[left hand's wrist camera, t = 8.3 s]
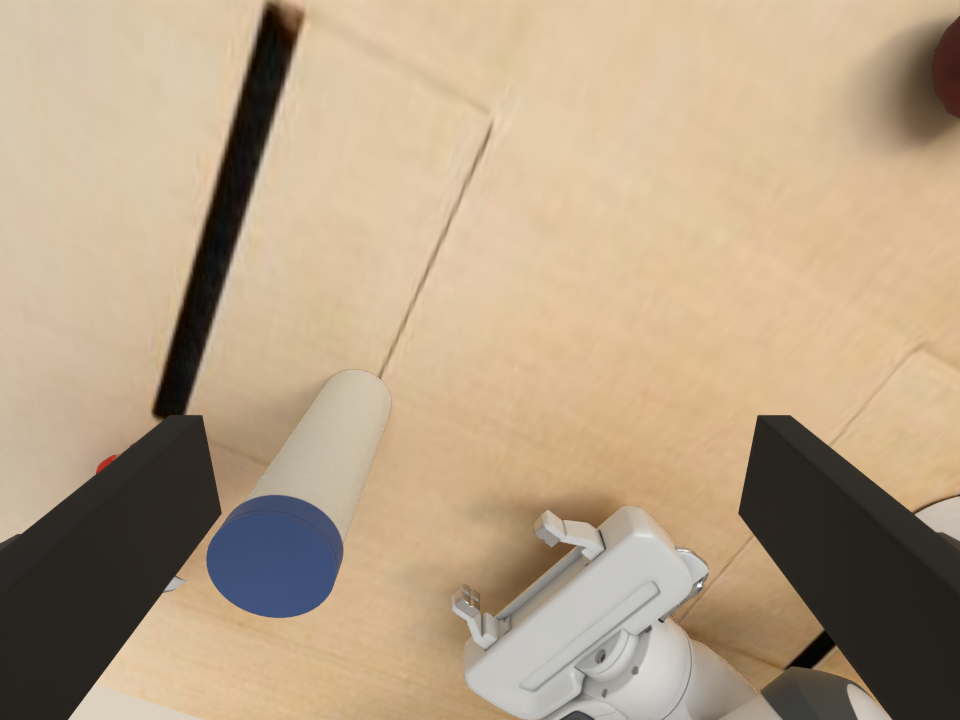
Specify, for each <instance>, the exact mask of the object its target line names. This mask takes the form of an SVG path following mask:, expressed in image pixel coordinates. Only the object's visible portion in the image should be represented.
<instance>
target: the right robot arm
mask: <svg viewBox="0 0 960 720" xmlns="http://www.w3.org/2000/svg"><path fill="white" fill-rule="evenodd" d="M915 516H917V517H918V518H919V519H920V520H922V521H923V522H924V523H925V524H927V525H928V526H929V527H930V528H932V529H933V530H934V531H935V532H943V533H945V534H947V535H949V536H951V537H953V538H955V539H957V540H959V541H960V496H958V497H954V498H950V499H947V500H944V501H941V502H938V503H936V504H934V505H931V506H929V507H927V508H925V509H923V510H921V511H920V512H918V513H916V514H915ZM533 526H534V533H535V534H536V536H537V537H538V538H539V539H541V540H545V543H546V544H547V545H549V546H550V547H551V548H552V547H553V546H555V545H556V544H557V543H558V542H559V541H560V542H563V543H568V544H573V545H577V546H575V547H574V548H573V549H572V550H571V551H570V552H568V553H567V554H566V555H565V556H564V557H563V558H562V559H560V560H559V561H558V562H557V563H556V564H555V565H553V566H552V567H551V568H550V569H549V570H548V571H546V572H545V573H544V574H543V575H542V576H541V577H540V578H538V579H537V580H536V581H535V582H534V583H533V584H531V585H530V586H529V587H528V588H527V589H526V590H525V591H523V592H522V593H521V594H520V595H519V596H518V597H516V598H515V599H514V600H513V601H512V602H511V603H509V604H508V605H507V606H506V607H505V608H504V609H503V610H501V611H500V612H499V613H498V614H497V615H496V616H492V615H491V614H489V613H488V612H485V613H484V614H483V616H481V614H480V612H479V611H480V604H479V601H480V594H479V593H478V592H476V591H475V590H473V589H470V587H469V586H468V585H463V586H462V587H461V588H460V589H459V590H457V591H456V592H455V593H454V594H453V595H452V596H451V609H452V611H453V612H454V613H455V614H457V615H458V616H460V617H461V618H463V619H464V620H466V621H467V625H468V627H469V629H470V632H471V634H472V636H471V637H470V638H469V639H468V640H467V641H466V642H465V645H464V654H463V674H464V678H465V681H466V684H467V686H468V687H469V688H470V689H471V690H472V691H473V692H475V693H476V694H478V695H479V696H480V697H482V698H483V699H485V700H487V701H488V702H490V703H491V704H493V705H495V706H497V707H498V708H500V709H502V710H504V711H506V712H507V713H509V714H511V715H513V716H516V717H518V718H521V719H525V720H537V719H540V720H892V719H891V718H890V716H889V715H888V714H887V713H886V712H885V711H884V710H883V709H882V708H881V706H880V705H879V704H878V703H876V702H875V700H874V699H873V698H872V697H871V696H870V695H869V694H868V693H867V692H866V691H865V690H864V689H862V688H861V687H860V686H859V685H858V684H856V683H855V682H853V681H851V680H848V679H845V678H843V677H840V676H837V675H833V674H830V673H826V672H822V671H817V670H812V669H806V668H799V667H790V668H789V669H787V670H786V671H785V672H784V673H782V674H781V675H780V676H779V677H777V678H776V679H775V680H773V681H772V682H771V683H770V684H768V685H767V686H766V687H765V688H763V689H762V690H761V693H760V694H759V693H758V692H757V691H756V690H755V689H754V687H753V686H752V685H751V684H750V683H749V682H748V681H747V680H746V679H745V678H744V677H743V676H742V675H741V674H740V673H739V672H738V671H737V670H736V669H735V668H733V667H732V666H731V665H730V664H729V663H728V662H727V661H725V660H724V659H723V658H722V657H720V656H719V655H718V654H717V653H715V652H714V651H713V650H711V649H710V648H709V647H707V646H706V645H704V644H702V643H700V642H698V641H695V640H692V639H690V638H689V636H688V635H687V633H686V632H685V631H684V630H683V628H682V627H681V626H679V625H678V624H677V623H676V622H675V621H673V620H672V619H671V618H670V616H671V615H672V614H674V613H675V612H676V611H677V610H678V609H680V607H682V605H683V604H684V603H685V602H687V601H688V600H689V599H691V598H694V597H696V596H697V595H698V594H700V593H701V592H702V591H703V589H704V588H705V585H704V582H705V581H706V579H707V577H708V574H709V568H708V565H707V563H706V562H705V560H703V559H702V558H701V557H700V556H699V555H697V554H696V553H695V552H694V551H692V550H691V549H689V548H687V547H683V546H676V545H675V543H674V542H673V541H672V539H671V538H670V537H669V535H668V534H667V533H666V532H665V531H664V530H663V528H662V527H661V526H660V525H659V524H658V523H657V522H656V521H655V520H654V519H653V518H652V517H651V516H650V515H649V514H648V513H647V512H646V511H645V510H643V509H642V508H641V507H638V506H622V507H621V508H619V509H618V510H617V511H616V512H615V513H614V514H612V515H611V516H610V517H609V518H608V519H607V520H606V521H604V522H603V523H602V524H601V525H600V526H599V527H597V528H596V529H595V528H594V527H593V526H591V525H590V524H589V523H586V522H578V521H570V520H563V521H562V520H561V519H559V518H558V517H557V516H556V515H554V514H553V513H552V512H550V511H549V510H546V511H545V512H544V513H542V514H541V515H540V516H539V517H538V518H537V519H536V520H535V521H534V522H533Z"/></svg>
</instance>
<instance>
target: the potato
mask: <svg viewBox="0 0 960 720" xmlns="http://www.w3.org/2000/svg"><path fill="white" fill-rule="evenodd" d="M932 69H933V76H934V83H935V90H936V92H937V94H938V96H939V98H940V100H941V101H942V103H943V105H944V106H945V108H946V110H947V111H948V113H950V114H952V115H954V116H956V117H958V118H960V16H959V17H958V18H957V19H956V20H955V21H954V22H953V23H952V24H951V25H950V26H949V27H948V29H947V30H946V31H945V33H944V34H943V36H942V38H941V40H940V42H939V44H938V46H937V48H936V51H935V56H934V62H933V68H932Z"/></svg>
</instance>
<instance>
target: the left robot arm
mask: <svg viewBox="0 0 960 720" xmlns="http://www.w3.org/2000/svg"><path fill="white" fill-rule="evenodd" d="M221 514H222V512H221V507H220V502H219V497H218V492H217V487H216V482H215V477H214V472H213V467H212V462H211V457H210V452H209V447H208V442H207V437H206V432H205V427H204V422H203V417H202V415H170V416H168V417H167V418H166V419H165V420H163V421H162V422H161V423H160V424H158V425H157V426H156V427H155V428H153V429H152V430H151V431H150V432H148V433H147V434H146V435H145V436H143V437H142V438H141V439H140V440H138V441H137V442H136V443H135V444H133V445H132V446H131V447H130V448H128V449H127V450H126V451H125V452H123V453H122V454H121V455H120V456H118V457H117V458H116V459H115V460H113V461H112V462H111V463H110V464H108V465H107V466H106V467H105V468H103V469H102V470H101V471H100V472H98V473H97V474H96V475H95V476H93V477H92V478H91V479H90V480H88V481H87V482H86V483H85V484H83V485H82V486H81V487H80V488H78V489H77V490H76V491H75V492H73V493H72V494H71V495H70V496H68V497H67V498H66V499H65V500H63V501H62V502H61V503H60V504H58V505H57V506H56V507H55V508H53V509H52V510H51V511H50V512H48V513H47V514H46V515H45V516H43V517H42V518H41V519H40V520H38V521H37V522H36V523H35V524H33V525H32V526H31V527H30V528H28V529H27V530H26V531H25V532H24V533H22V534H17V535H15V536H13V537H11V538H9V539H8V540H6V541H4V542H2V543H0V720H68V719H69V718H70V716H71V715H72V713H73V712H74V711H75V709H76V708H77V707H78V705H79V704H80V703H81V701H82V700H83V699H84V697H85V696H86V695H87V693H88V692H89V691H90V689H91V688H92V687H93V685H94V684H95V683H96V681H97V680H98V679H99V677H100V676H101V675H102V673H103V672H104V671H105V669H106V668H107V667H108V665H109V664H110V663H111V661H112V660H113V659H114V657H115V656H116V655H117V653H118V652H119V650H120V649H121V648H122V646H123V645H124V644H125V642H126V641H127V640H128V638H129V637H130V636H131V634H132V633H133V632H134V630H135V629H136V628H137V626H138V625H139V624H140V622H141V621H142V620H143V618H144V617H145V616H146V614H147V613H148V612H149V610H150V609H151V608H152V606H153V605H154V604H155V602H156V601H157V600H158V598H159V597H160V595H161V594H162V593H163V591H164V590H165V589H166V587H167V586H168V585H169V583H170V582H171V581H172V579H173V578H174V577H175V575H176V574H177V573H178V571H179V570H180V569H181V567H182V566H183V565H184V563H185V562H186V561H187V559H188V558H189V557H190V555H191V554H192V553H193V551H194V550H195V549H196V547H197V546H198V545H199V543H200V542H201V541H202V539H203V538H204V536H205V535H206V534H207V532H208V531H209V530H210V528H211V527H212V526H213V524H214V523H215V522H216V520H217V519H218V518H219V516H220V515H221ZM738 514H739V515H740V516H741V518H742V519H743V520H744V522H745V523H746V524H747V526H748V527H749V528H750V530H751V531H752V532H753V534H754V535H755V536H756V538H757V539H758V541H759V542H760V543H761V545H762V546H763V547H764V549H765V550H766V551H767V553H768V554H769V555H770V557H771V558H772V559H773V561H774V562H775V563H776V565H777V566H778V567H779V569H780V570H781V571H782V573H783V574H784V575H785V577H786V578H787V579H788V581H789V582H790V583H791V585H792V586H793V587H794V589H795V590H796V591H797V593H798V594H799V595H800V597H801V598H802V600H803V601H804V602H805V604H806V605H807V606H808V608H809V609H810V610H811V612H812V613H813V614H814V616H815V617H816V618H817V620H818V621H819V622H820V624H821V625H822V626H823V628H824V629H825V630H826V632H827V633H828V634H829V636H830V637H831V638H832V640H833V641H834V642H835V644H836V645H837V646H838V648H839V649H840V650H841V652H842V653H843V655H844V656H845V657H846V659H847V660H848V661H849V663H850V664H851V665H852V667H853V668H854V669H855V671H856V672H857V673H858V675H859V676H860V677H861V679H862V680H863V681H864V683H865V684H866V685H867V687H868V688H869V689H870V691H871V692H872V693H873V695H874V696H875V697H876V699H877V700H878V701H879V703H880V704H881V705H882V707H883V708H884V709H885V711H886V712H887V714H888V715H889V716H890V718H891V719H892V720H960V541H959V540H957V539H955V538H953V537H951V536H949V535H947V534H945V533H943V532H935V531H934V530H933V529H932V528H930V527H929V526H928V525H927V524H925V523H924V522H923V521H922V520H920V519H919V518H918V517H917V516H915V515H914V514H913V513H912V512H910V511H909V510H908V509H907V508H905V507H904V506H903V505H902V504H900V503H899V502H898V501H897V500H895V499H894V498H893V497H892V496H890V495H889V494H888V493H887V492H885V491H884V490H883V489H882V488H880V487H879V486H878V485H877V484H875V483H874V482H873V481H872V480H870V479H869V478H868V477H867V476H865V475H864V474H863V473H862V472H860V471H859V470H858V469H857V468H855V467H854V466H853V465H852V464H850V463H849V462H848V461H847V460H845V459H844V458H843V457H842V456H840V455H839V454H838V453H837V452H835V451H834V450H833V449H832V448H830V447H829V446H828V445H827V444H825V443H824V442H823V441H822V440H820V439H819V438H818V437H817V436H815V435H814V434H813V433H812V432H810V431H809V430H808V429H807V428H805V427H804V426H803V425H802V424H800V423H799V422H798V421H797V420H795V419H794V418H793V417H792V416H790V415H758V417H757V422H756V427H755V432H754V437H753V442H752V447H751V452H750V457H749V462H748V467H747V472H746V477H745V482H744V487H743V492H742V497H741V502H740V507H739V512H738Z"/></svg>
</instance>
